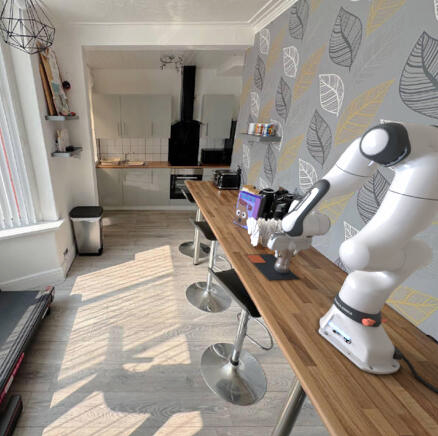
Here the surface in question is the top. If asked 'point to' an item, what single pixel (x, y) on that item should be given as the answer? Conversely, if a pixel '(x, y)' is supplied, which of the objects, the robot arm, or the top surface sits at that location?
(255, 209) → the cereal box
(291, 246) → the plastic bottle
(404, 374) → the top surface
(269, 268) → the mat
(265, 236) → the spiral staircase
